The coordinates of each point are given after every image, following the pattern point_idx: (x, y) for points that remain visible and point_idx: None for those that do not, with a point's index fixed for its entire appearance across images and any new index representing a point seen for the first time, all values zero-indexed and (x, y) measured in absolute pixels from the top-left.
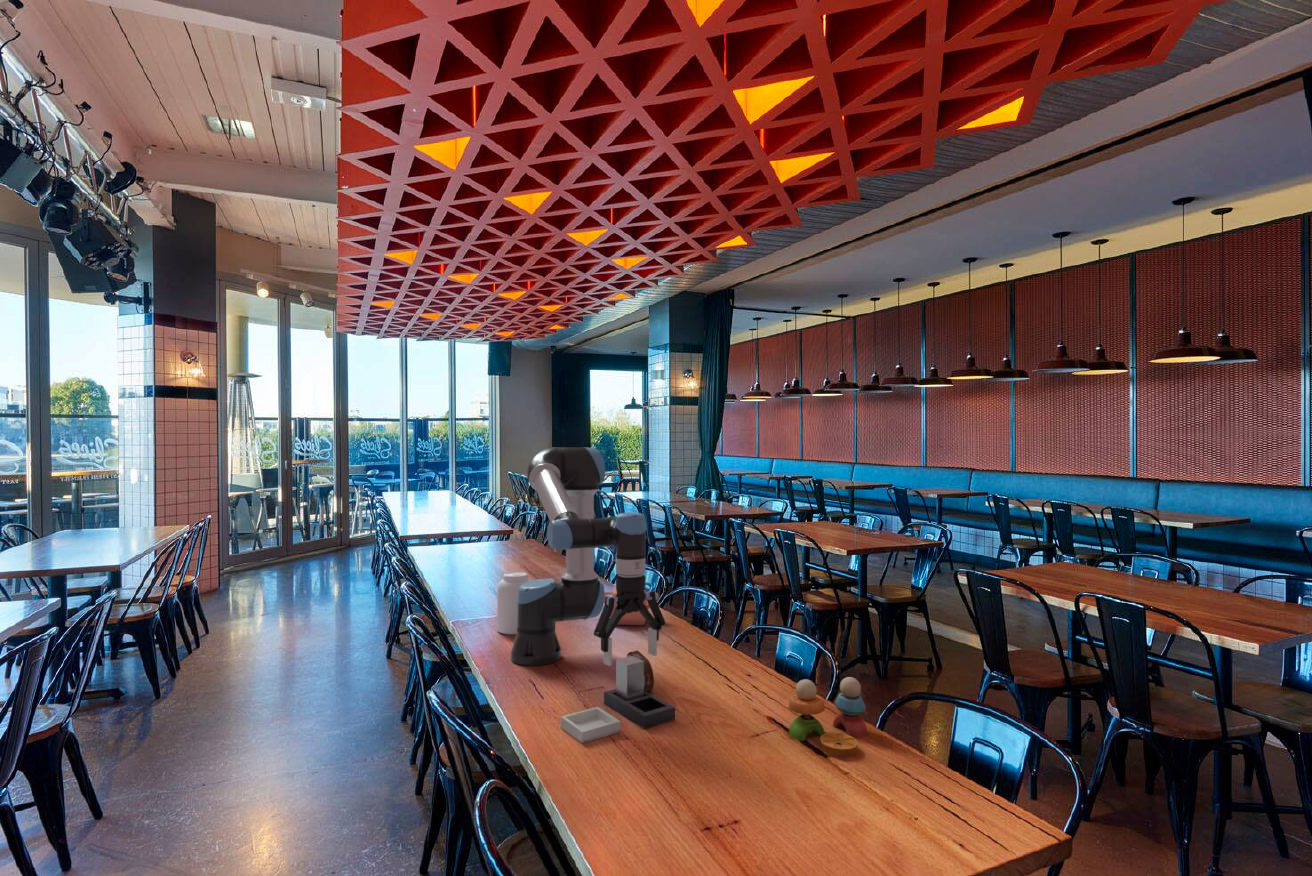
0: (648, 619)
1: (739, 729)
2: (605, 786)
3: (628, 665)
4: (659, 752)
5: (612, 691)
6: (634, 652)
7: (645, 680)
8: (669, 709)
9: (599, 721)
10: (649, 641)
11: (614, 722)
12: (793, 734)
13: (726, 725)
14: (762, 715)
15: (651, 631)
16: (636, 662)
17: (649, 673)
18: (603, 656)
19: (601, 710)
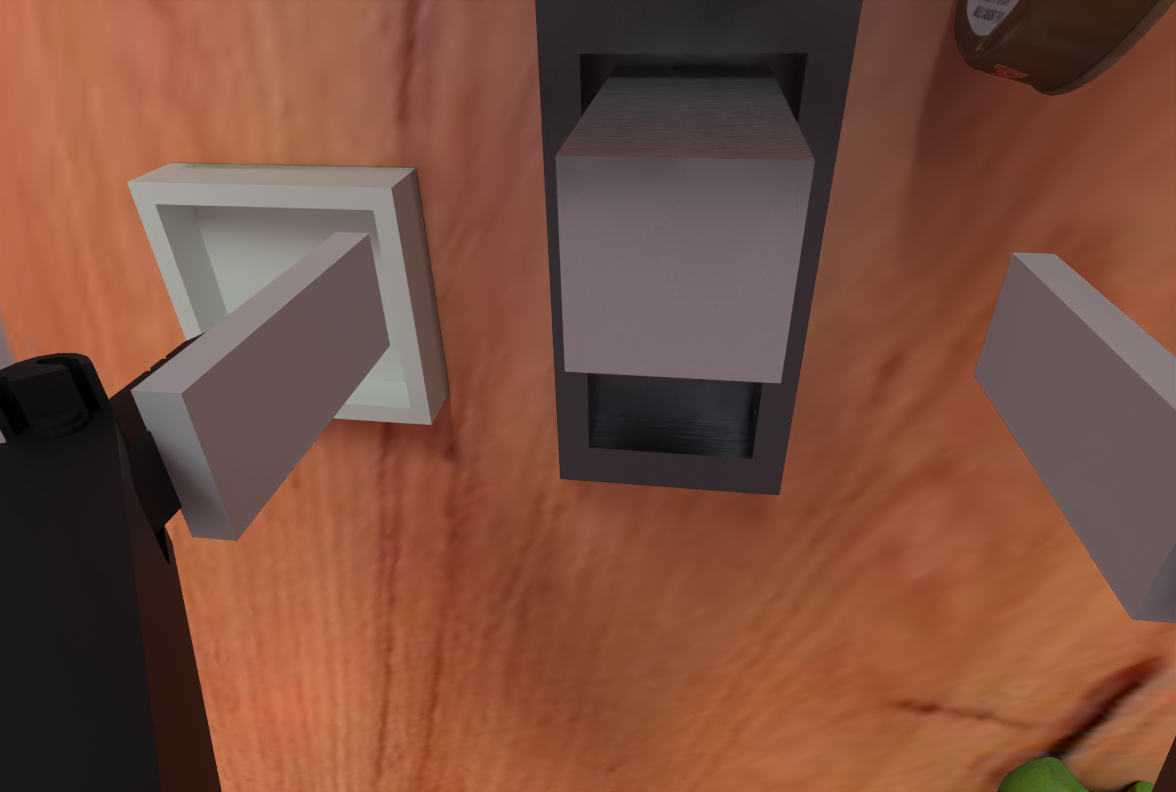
0: (1165, 784)
1: (920, 655)
2: (248, 624)
3: (580, 371)
4: (507, 593)
5: (600, 27)
6: None
7: (967, 57)
8: (734, 490)
9: (383, 264)
10: (1074, 361)
11: (397, 418)
12: (1010, 789)
13: (914, 610)
14: (1148, 644)
15: (1148, 520)
16: (691, 369)
17: (1035, 76)
18: (298, 261)
19: (390, 255)
